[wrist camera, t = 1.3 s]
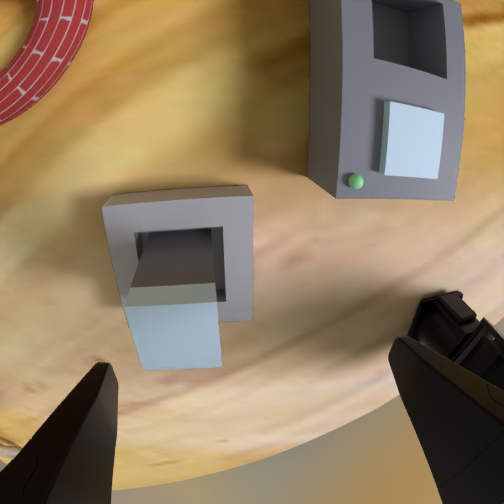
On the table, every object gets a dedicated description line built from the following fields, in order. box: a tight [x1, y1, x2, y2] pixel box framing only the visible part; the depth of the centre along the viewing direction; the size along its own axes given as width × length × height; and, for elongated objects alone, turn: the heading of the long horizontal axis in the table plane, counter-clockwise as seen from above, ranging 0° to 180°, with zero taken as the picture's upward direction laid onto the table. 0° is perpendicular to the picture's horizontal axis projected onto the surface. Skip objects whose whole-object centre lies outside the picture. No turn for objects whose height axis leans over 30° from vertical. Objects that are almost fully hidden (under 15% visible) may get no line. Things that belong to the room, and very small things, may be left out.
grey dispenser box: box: [307, 0, 466, 201], centre depth 15 cm, size 14×9×6 cm, turn 0°
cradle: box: [101, 185, 253, 327], centre depth 20 cm, size 9×9×2 cm
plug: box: [124, 229, 222, 370], centre depth 17 cm, size 4×4×8 cm
